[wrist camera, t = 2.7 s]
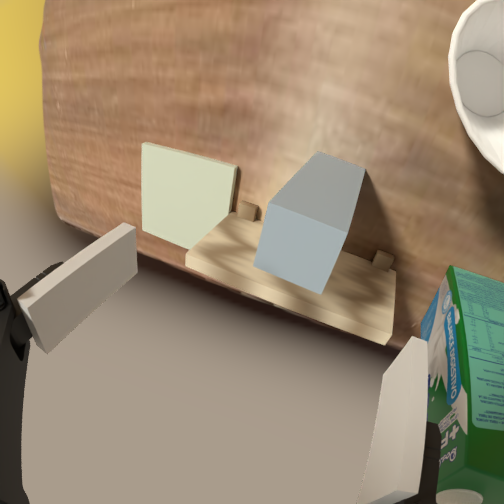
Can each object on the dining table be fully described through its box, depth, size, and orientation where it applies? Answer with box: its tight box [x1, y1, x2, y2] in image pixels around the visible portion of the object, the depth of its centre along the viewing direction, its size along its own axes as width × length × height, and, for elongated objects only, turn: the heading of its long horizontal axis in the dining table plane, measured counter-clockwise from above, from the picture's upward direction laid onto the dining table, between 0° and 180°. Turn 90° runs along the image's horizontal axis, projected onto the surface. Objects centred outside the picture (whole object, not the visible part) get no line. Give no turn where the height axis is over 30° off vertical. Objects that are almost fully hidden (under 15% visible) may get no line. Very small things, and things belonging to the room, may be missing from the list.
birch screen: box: [185, 201, 396, 345], centre depth 32 cm, size 20×5×10 cm, turn 80°
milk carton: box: [421, 265, 504, 504], centre depth 21 cm, size 9×9×25 cm
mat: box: [142, 142, 238, 250], centre depth 39 cm, size 13×13×1 cm
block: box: [253, 151, 365, 295], centre depth 25 cm, size 5×5×14 cm
